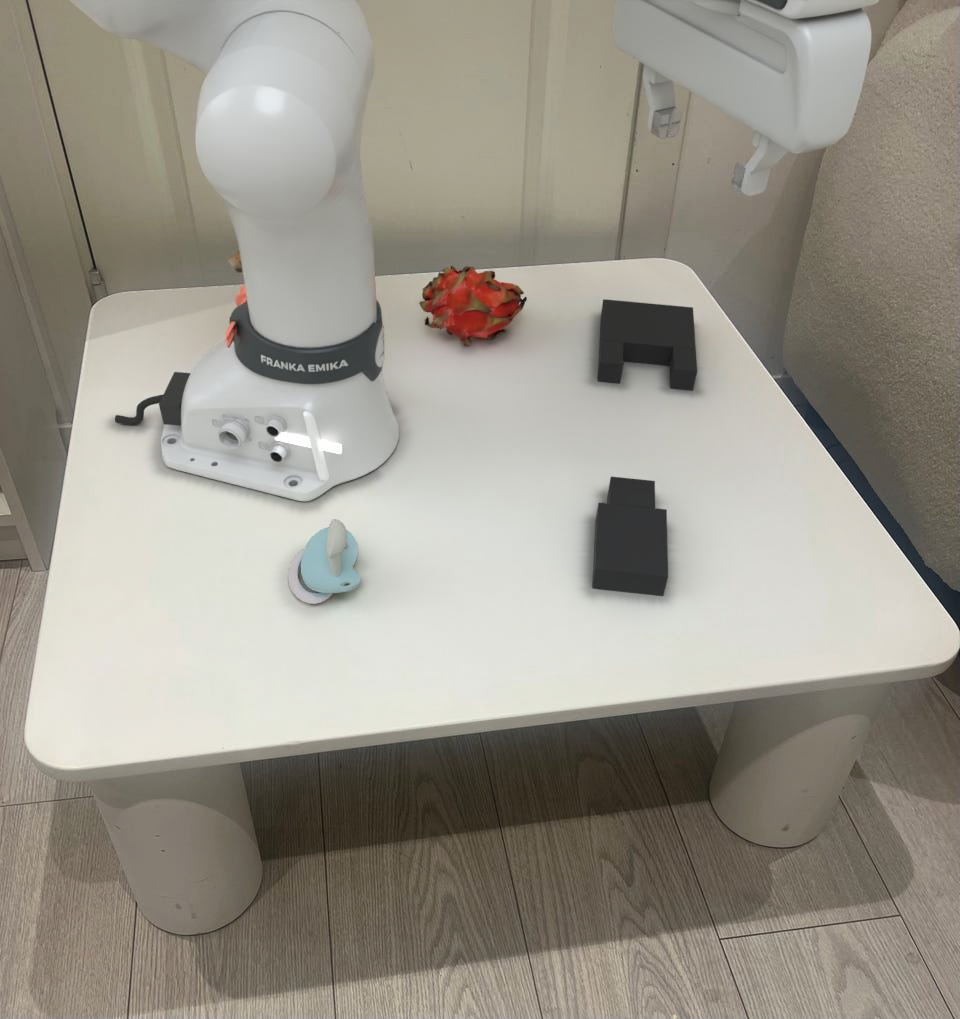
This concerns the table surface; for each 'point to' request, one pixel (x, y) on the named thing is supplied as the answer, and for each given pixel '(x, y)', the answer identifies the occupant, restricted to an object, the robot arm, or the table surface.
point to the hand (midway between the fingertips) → (703, 161)
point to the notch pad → (647, 340)
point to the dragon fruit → (471, 303)
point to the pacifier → (325, 564)
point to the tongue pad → (630, 539)
